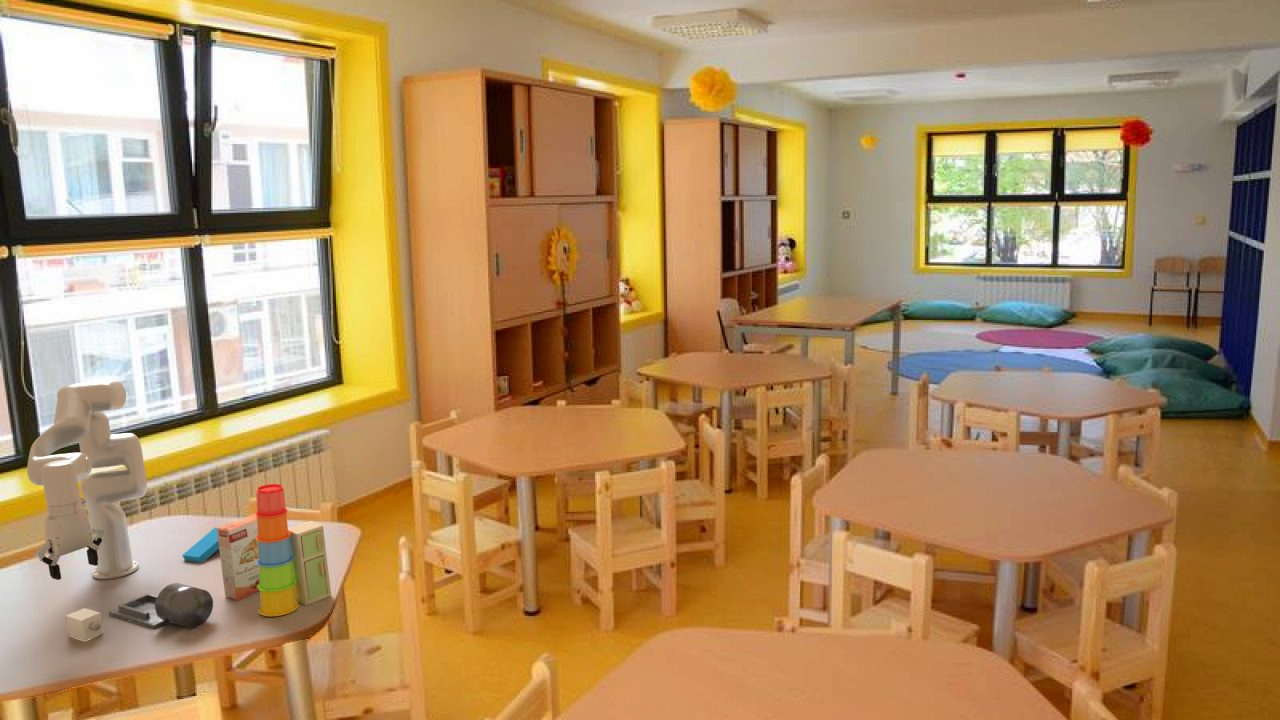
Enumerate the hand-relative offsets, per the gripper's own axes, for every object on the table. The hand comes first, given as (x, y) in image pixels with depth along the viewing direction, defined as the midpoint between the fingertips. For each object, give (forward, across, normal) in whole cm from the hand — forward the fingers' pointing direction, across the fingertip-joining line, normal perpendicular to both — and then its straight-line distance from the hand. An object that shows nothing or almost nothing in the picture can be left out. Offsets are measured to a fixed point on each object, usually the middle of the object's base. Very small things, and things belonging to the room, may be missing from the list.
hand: (75, 571), depth 250 cm
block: (+18, 0, 0) cm, 18 cm away
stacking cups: (+18, -32, +36) cm, 51 cm away
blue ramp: (+18, -54, -20) cm, 60 cm away
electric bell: (+18, -16, +9) cm, 26 cm away
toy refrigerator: (+18, -41, +39) cm, 60 cm away
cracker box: (+18, -38, +18) cm, 46 cm away
